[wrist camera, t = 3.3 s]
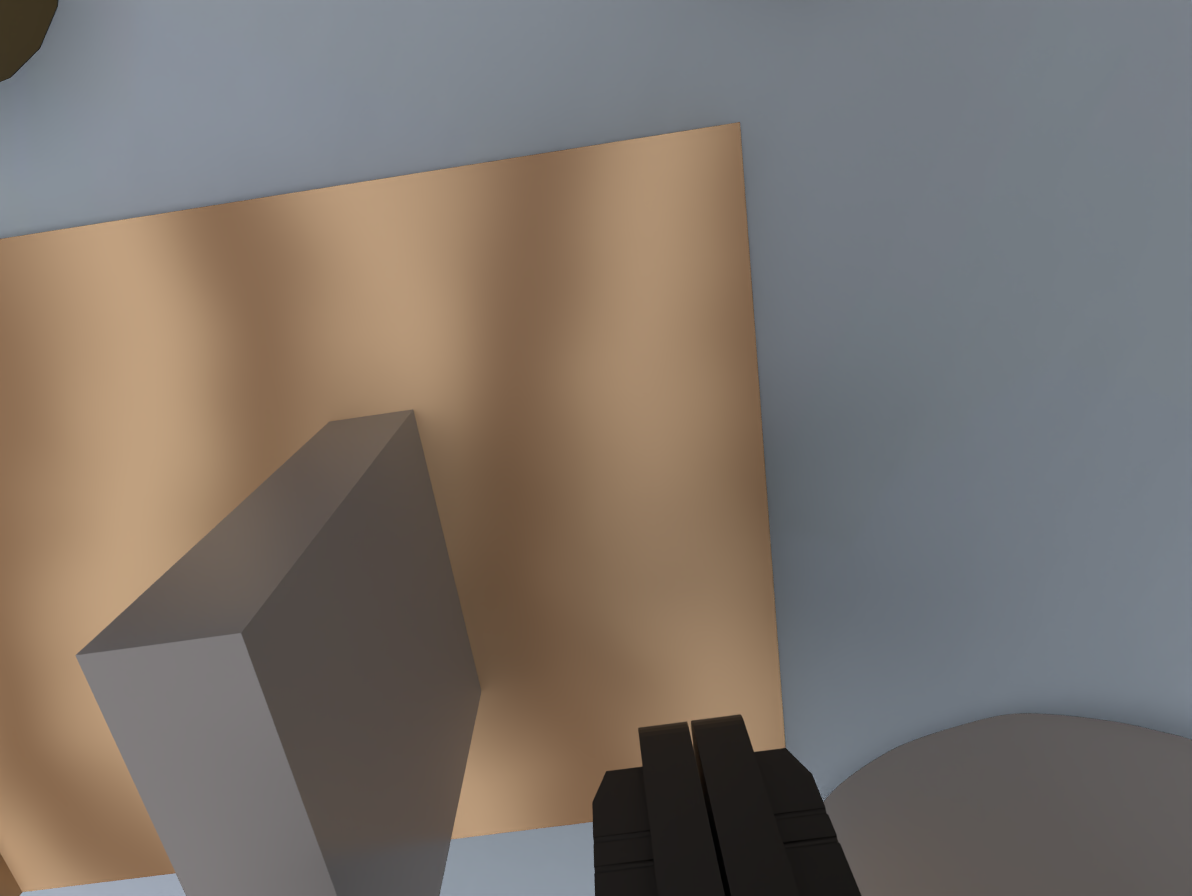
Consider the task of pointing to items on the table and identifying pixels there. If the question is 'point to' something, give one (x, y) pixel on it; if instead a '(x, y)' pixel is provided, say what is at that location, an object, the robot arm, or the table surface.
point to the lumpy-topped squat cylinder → (1022, 811)
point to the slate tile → (303, 681)
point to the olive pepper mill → (22, 31)
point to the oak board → (450, 443)
